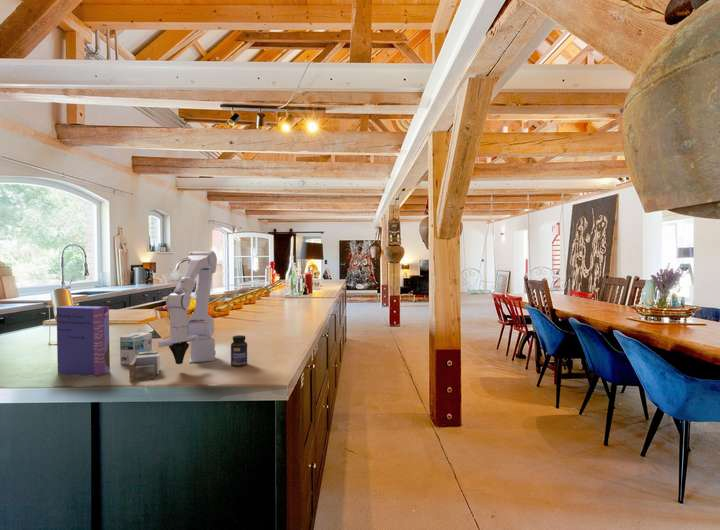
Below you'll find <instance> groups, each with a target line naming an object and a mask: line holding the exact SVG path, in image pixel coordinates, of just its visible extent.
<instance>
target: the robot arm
mask: <svg viewBox="0 0 720 530" xmlns="http://www.w3.org/2000/svg"><path fill="white" fill-rule="evenodd" d="M217 262H218V259H217V254H216V252H215V251H214V250H213V251H212V250H210V251H193V250H191V251H190V252H189V253H188V256H187V263H188V267H187V270H186V271H185V274H184V277H181V278H179V281H178V282H177V284H176V286H175V289H174V290H173V292H172V293H170V294H169V295H167V297H166V301H165V305H166V308H167V313H168V314H169V338H166V339H163V340H159V341H157V347H158V348H164V347H168V348H169V350H170V351H171V353H172V355H173V358H174V361H175V364H176V365H182V364H183V363H184V359H185V356H186V353H187V350H188V349H189V348H190V352H189V353H190V354H189V355H190V356H189V360H188V362H189V363H192V364H193V363H200V362H202V363H203V362H211V361H215V359H216V352H217V351H216V349H215V347H216V346H215V345H216V344H215V343H216V342H215V341H216V340H215V336H213V335H214V332H215V323H214V322H215V319H214V318H213V317H212V316H211V315H209V313H208V312H209V305H210V295H211V288H212V278H213V274H214V273H216V269H217ZM197 277H198V281H197V282H198V283H197V291H196V300H195V307H194V313H193V314H191V315H190V316H188V308H189V307H190V305H191V298H192V296H191V295H192V292H193V290H194V288H195V286H196V284H195V279H196V278H197Z"/></svg>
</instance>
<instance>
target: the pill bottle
mask: <svg viewBox="0 0 720 530" xmlns="http://www.w3.org/2000/svg"><path fill="white" fill-rule="evenodd" d="M232 341H233V342H231V344H230V366H231V367H233V366H241V367H244V365H245V366H247V365H248V342H246V336H245V335H233V336H232Z"/></svg>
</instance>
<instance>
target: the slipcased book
mask: <svg viewBox="0 0 720 530" xmlns="http://www.w3.org/2000/svg"><path fill="white" fill-rule="evenodd" d="M160 364H161V363H160V353H158V354H152V355H139V356H137V357H136V366H147V365H154V374H158V373H159V374H160V372H159V371H161V370H160ZM159 374H158V375H159Z"/></svg>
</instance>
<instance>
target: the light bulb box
mask: <svg viewBox="0 0 720 530" xmlns="http://www.w3.org/2000/svg"><path fill="white" fill-rule="evenodd" d="M119 344H120V345H119V346H120V347H119V352H120V356H119V357H120V361H119V363H120V365H130V363H131V362H132V360H133V359H134V357H135V356H136V355H138V354H139V352H147V351H153V333H152V332H140V331H139V332H135V333H134V332H133V333H131V334H127V335H123V336H120V337H119Z"/></svg>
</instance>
